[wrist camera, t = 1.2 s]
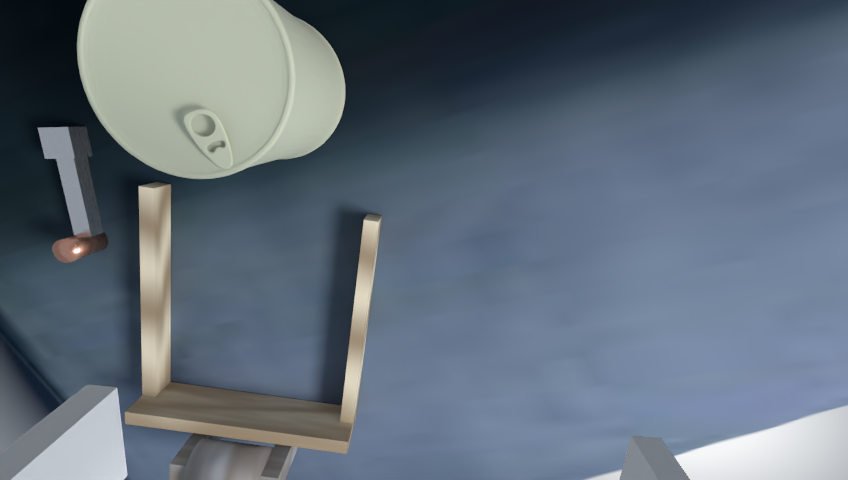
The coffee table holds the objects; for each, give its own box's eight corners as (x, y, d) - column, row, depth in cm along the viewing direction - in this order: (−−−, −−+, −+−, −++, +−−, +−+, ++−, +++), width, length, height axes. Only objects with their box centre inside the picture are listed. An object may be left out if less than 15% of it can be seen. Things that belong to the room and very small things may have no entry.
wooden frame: (156, 182, 31) (86, 197, 25) (381, 215, 32) (369, 239, 25) (158, 430, 37) (101, 496, 30) (350, 456, 37) (334, 526, 31)
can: (242, 176, 31) (132, 209, 20) (183, 41, 29) (20, -11, 17) (365, 134, 30) (326, 142, 19) (315, -9, 28) (235, -98, 17)
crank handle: (57, 127, 31) (18, 128, 28) (86, 126, 30) (50, 127, 28) (85, 250, 33) (52, 263, 30) (112, 249, 33) (82, 262, 30)
